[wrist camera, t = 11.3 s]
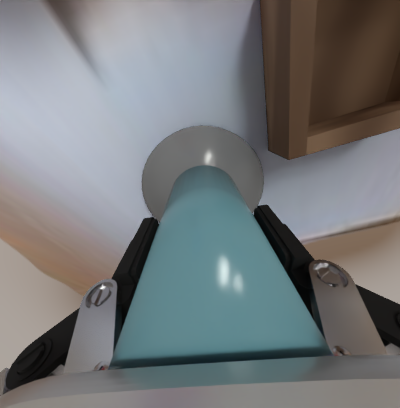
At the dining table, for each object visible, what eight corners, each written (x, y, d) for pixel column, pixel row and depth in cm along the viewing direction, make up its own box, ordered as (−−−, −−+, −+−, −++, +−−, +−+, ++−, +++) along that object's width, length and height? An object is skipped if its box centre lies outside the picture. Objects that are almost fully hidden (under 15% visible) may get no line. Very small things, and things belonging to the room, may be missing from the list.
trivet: (253, 104, 12) (257, 103, 11) (263, 218, 18) (267, 224, 17) (121, 150, 13) (116, 152, 12) (171, 241, 19) (170, 246, 18)
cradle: (459, -110, 7) (640, -265, 4) (389, 114, 12) (451, 113, 9) (258, -18, 9) (291, -90, 6) (268, 150, 14) (288, 160, 11)
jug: (163, 169, 12) (52, 348, 3) (237, 161, 12) (390, 325, 3) (184, 252, 17) (169, 412, 8) (236, 247, 17) (284, 407, 8)
